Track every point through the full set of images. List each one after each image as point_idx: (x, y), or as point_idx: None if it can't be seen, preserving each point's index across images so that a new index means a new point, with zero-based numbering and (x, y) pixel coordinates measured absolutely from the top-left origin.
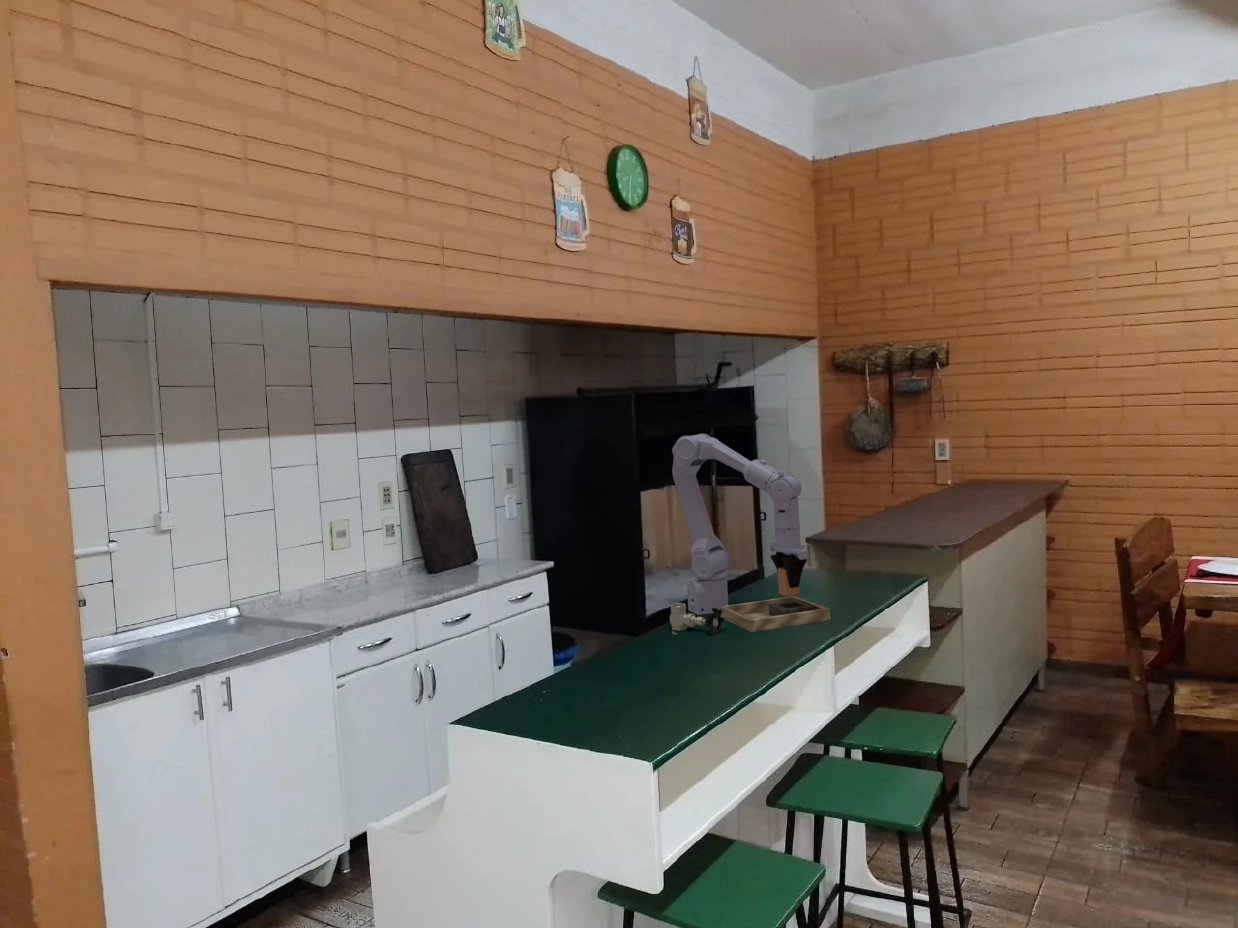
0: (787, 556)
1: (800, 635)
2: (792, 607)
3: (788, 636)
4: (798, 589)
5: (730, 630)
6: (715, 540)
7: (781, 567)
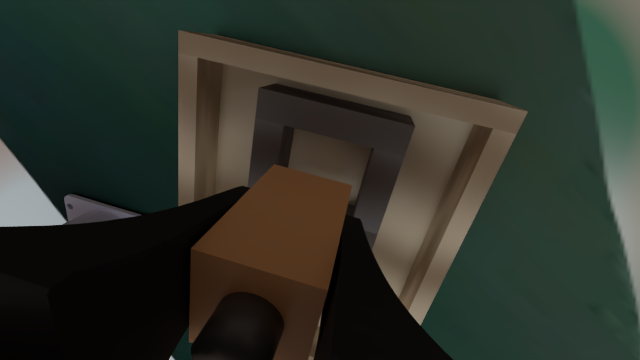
0: (103, 351)
1: (499, 276)
2: (288, 131)
3: (473, 301)
4: (348, 200)
5: None
6: None
7: (190, 318)
